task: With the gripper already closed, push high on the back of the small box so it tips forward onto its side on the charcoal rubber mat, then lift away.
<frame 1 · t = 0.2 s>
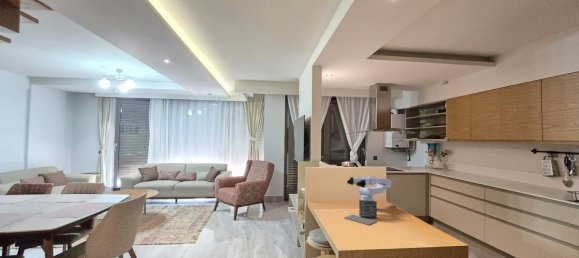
hand: (352, 183, 179), 21 cm above the counter, tool horizontal, fingers open, 7 cm apart
small box: (367, 217, 169), on the counter, touching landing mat
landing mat: (360, 220, 163), on the counter
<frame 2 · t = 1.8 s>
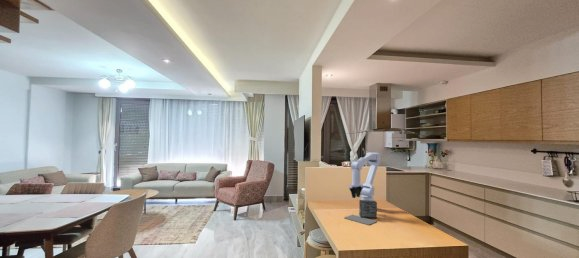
hand: (355, 197, 182), 10 cm above the counter, tool pointing down, fingers open, 5 cm apart
nothing on the counter moved.
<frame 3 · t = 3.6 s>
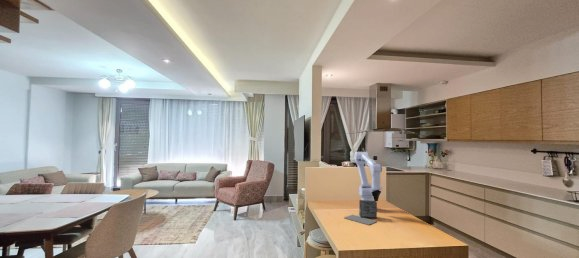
hand: (376, 201, 177), 9 cm above the counter, tool pointing down, fingers closed
nothing on the counter moved.
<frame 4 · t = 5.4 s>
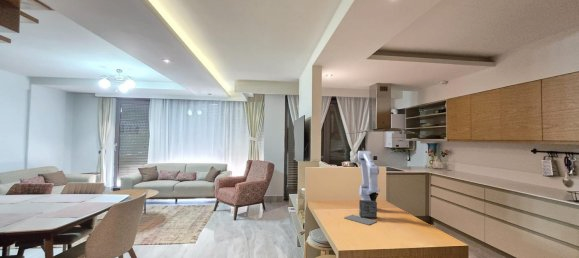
hand: (373, 203, 175), 8 cm above the counter, tool pointing down, fingers closed, pressing on small box
small box: (367, 217, 169), on the counter, touching gripper, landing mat
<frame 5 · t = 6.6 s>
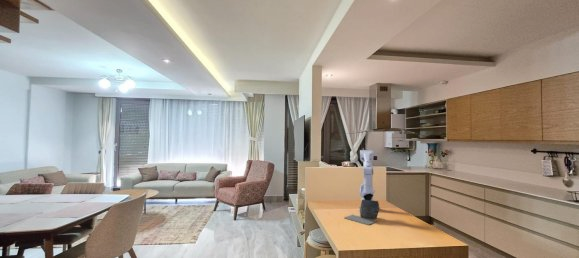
hand: (368, 205, 170), 8 cm above the counter, tool pointing down, fingers closed
small box: (367, 214, 169), point 2 cm above the counter, touching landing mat
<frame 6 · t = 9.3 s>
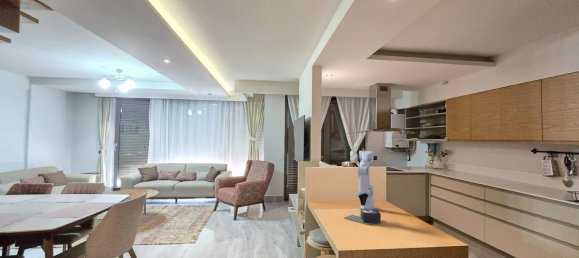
hand: (363, 205, 166), 9 cm above the counter, tool pointing down, fingers closed
small box: (368, 212, 167), point 4 cm above the counter, touching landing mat
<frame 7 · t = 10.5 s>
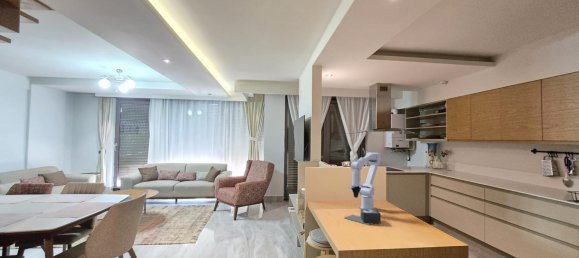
hand: (355, 197, 182), 10 cm above the counter, tool pointing down, fingers closed
nothing on the counter moved.
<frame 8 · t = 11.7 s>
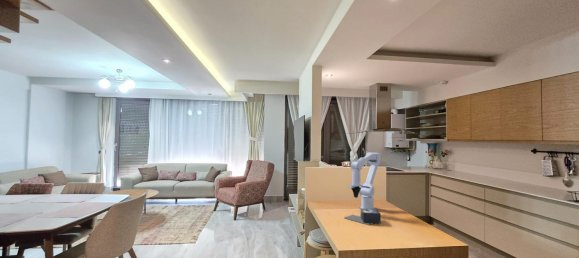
hand: (355, 197, 182), 10 cm above the counter, tool pointing down, fingers closed
nothing on the counter moved.
at the end: small box tilted 91°; small box inside the target area (2.5 cm from its centre), point 3.7 cm above the counter; the gripper is holding nothing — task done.
